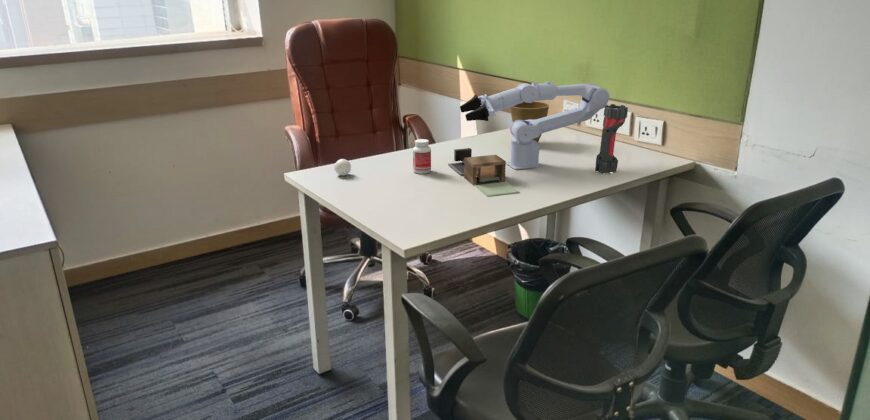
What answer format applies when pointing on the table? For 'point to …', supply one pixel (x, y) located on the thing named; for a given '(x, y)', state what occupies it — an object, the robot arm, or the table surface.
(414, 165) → the pill bottle
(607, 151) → the flashlight
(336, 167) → the white ball
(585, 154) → the table surface
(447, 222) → the table surface
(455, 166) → the grey flat square panel
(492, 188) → the pad
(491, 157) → the tunnel
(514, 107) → the plant pot
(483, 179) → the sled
